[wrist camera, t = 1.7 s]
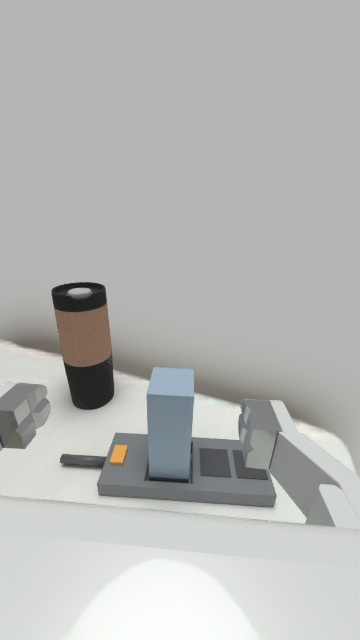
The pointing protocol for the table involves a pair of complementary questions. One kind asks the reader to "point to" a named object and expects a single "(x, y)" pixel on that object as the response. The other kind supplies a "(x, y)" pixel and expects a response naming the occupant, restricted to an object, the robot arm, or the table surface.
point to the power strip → (207, 483)
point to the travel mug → (85, 342)
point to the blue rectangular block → (170, 424)
